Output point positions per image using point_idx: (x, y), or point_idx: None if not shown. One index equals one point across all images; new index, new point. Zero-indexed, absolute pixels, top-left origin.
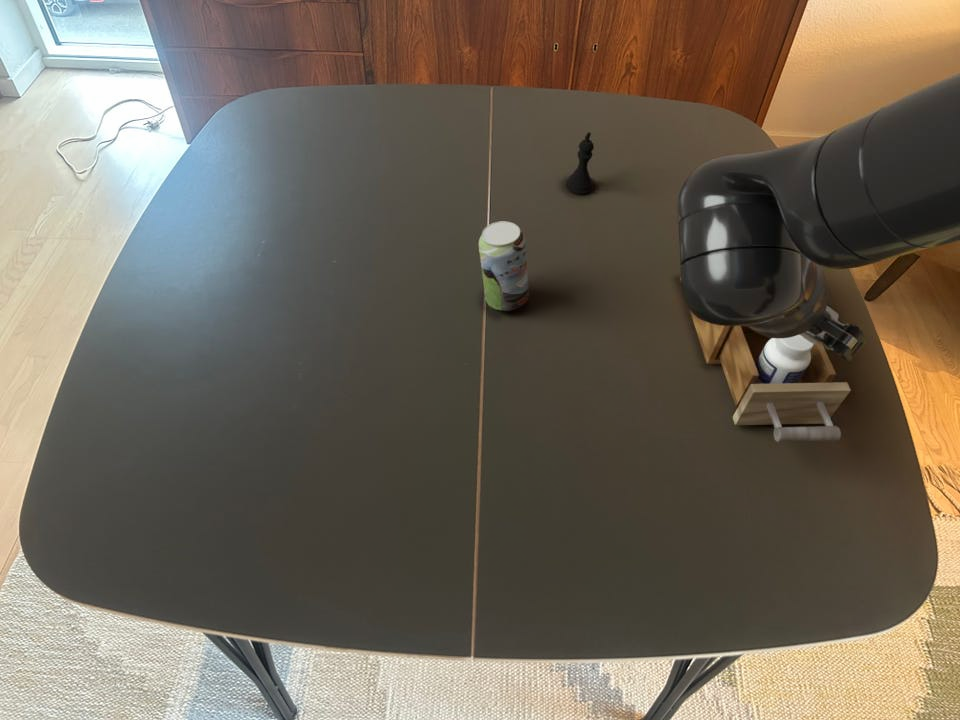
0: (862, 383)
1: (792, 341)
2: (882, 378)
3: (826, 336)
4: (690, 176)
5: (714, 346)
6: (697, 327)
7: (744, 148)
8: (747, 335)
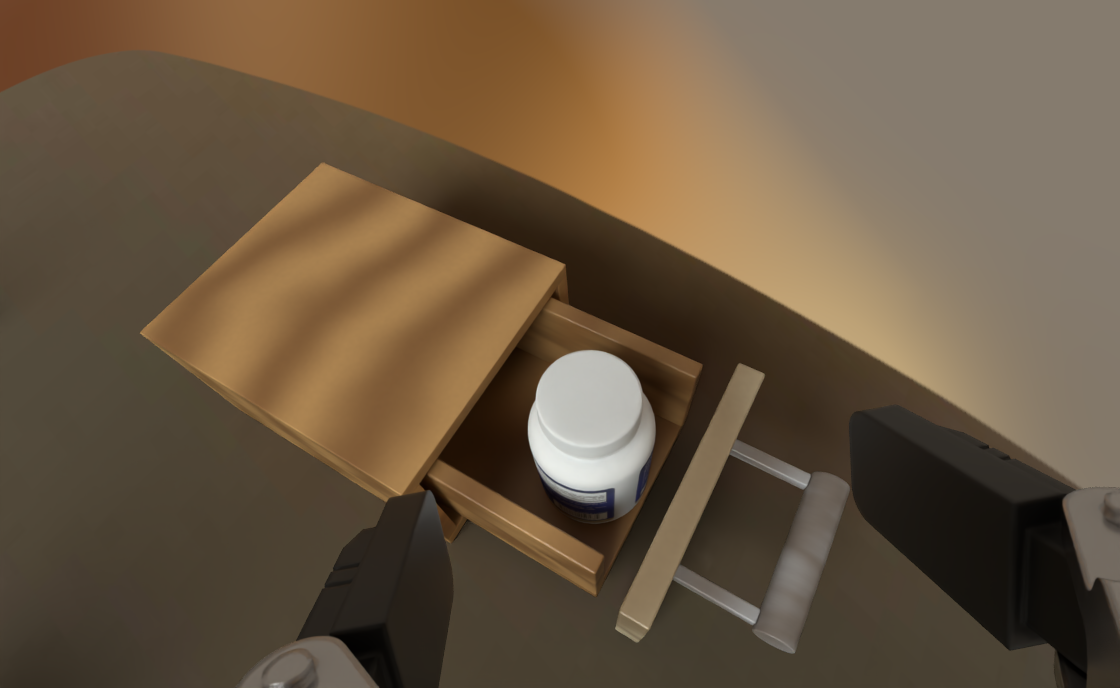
0: (676, 292)
1: (594, 418)
2: (685, 255)
3: (1080, 647)
4: None
5: None
6: (360, 485)
7: (145, 83)
8: None
